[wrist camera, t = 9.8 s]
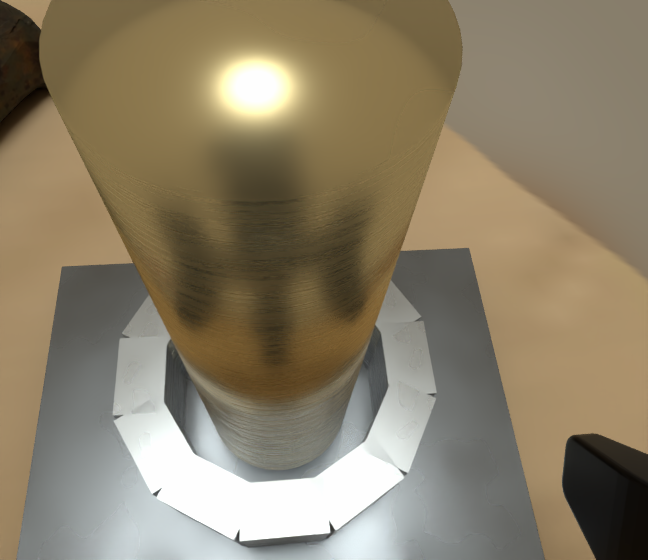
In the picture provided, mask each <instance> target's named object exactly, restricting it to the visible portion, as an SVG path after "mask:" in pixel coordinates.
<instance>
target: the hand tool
mask: <svg viewBox="0 0 648 560" xmlns="http://www.w3.org/2000/svg"><path fill="white" fill-rule="evenodd" d="M40 34H41V30H40V28H39V27H38V26H37V25H36V24H35V22H33V21H32V19H31V18H29V17H28V16H27V15H25V14H24V13H23V12H21V11H20V10H18V9H16V8H14V7H12V6H11V5H9V4H7V3H5V2H2V1H1V0H0V122H1V121H2V120H3V119H4V118H5V117H6V116H7V115H8V114H9V113H10V112H11V111H12V110H13V109H14V108H15V107H16V106H17V104H18V103H19V102H20V101H21V100H23V99H24V98H25V97H26V96H27V95H29V94H30V93H31V92H32V91H34V90H35V89H36V88H40V87H44V88H47V86H46V83H45V81H44V78H43V74H42V69H41V64H40V60H39V39H40Z"/></svg>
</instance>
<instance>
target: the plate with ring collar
mask: <svg viewBox="0 0 648 560" xmlns="http://www.w3.org/2000/svg"><path fill="white" fill-rule="evenodd" d="M16 560H545V558H544V554H543V550H542V546H541V542H540V538H539V534H538V529H537V525H536V521H535V517H534V513H533V509H532V505H531V501H530V497H529V492H528V488H527V484H526V480H525V476H524V472H523V468H522V464H521V460H520V455H519V451H518V447H517V443H516V439H515V435H514V431H513V427H512V423H511V418H510V414H509V410H508V406H507V402H506V398H505V394H504V390H503V386H502V382H501V377H500V373H499V369H498V365H497V361H496V357H495V353H494V349H493V345H492V340H491V336H490V332H489V328H488V324H487V320H486V316H485V312H484V308H483V303H482V299H481V295H480V291H479V287H478V283H477V279H476V275H475V271H474V266H473V262H472V258H471V254H470V250H469V248H458V249H437V250H415V251H400V254H399V257H398V260H397V263H396V265H395V268H394V271H393V274H392V277H391V280H390V283H389V286H388V289H387V292H386V295H385V298H384V301H383V304H382V307H381V310H380V313H379V316H378V318H377V321H376V324H375V327H374V330H373V333H372V336H371V339H370V342H369V345H368V348H367V351H366V354H365V357H364V360H363V363H362V366H361V369H360V371H359V374H358V377H357V380H356V383H355V386H354V389H353V392H352V395H351V398H350V401H349V404H348V407H347V410H346V413H345V416H344V419H343V422H342V424H341V427H340V429H339V432H338V434H337V435H336V437H335V439H334V440H333V442H332V443H331V444H330V446H329V447H328V448H327V449H326V450H325V451H324V452H323V453H322V454H321V455H319V456H318V457H317V458H315V459H314V460H312V461H310V462H309V463H307V464H304V465H302V466H299V467H296V468H292V469H288V470H267V469H261V468H258V467H255V466H252V465H250V464H248V463H246V462H244V461H242V460H241V459H239V458H238V457H236V456H235V455H234V454H233V453H232V452H231V451H230V450H229V449H228V448H227V447H226V445H225V444H224V443H223V441H222V439H221V438H220V436H219V434H218V432H217V430H216V428H215V426H214V424H213V422H212V420H211V418H210V416H209V414H208V412H207V410H206V408H205V406H204V404H203V402H202V400H201V398H200V396H199V394H198V392H197V390H196V388H195V386H194V384H193V382H192V380H191V378H190V376H189V374H188V372H187V370H186V368H185V366H184V364H183V362H182V360H181V358H180V356H179V354H178V352H177V350H176V348H175V345H174V343H173V341H172V339H171V337H170V335H169V333H168V331H167V329H166V327H165V325H164V323H163V321H162V319H161V317H160V315H159V313H158V311H157V309H156V307H155V305H154V303H153V301H152V299H151V297H150V295H149V293H148V291H147V289H146V287H145V285H144V283H143V281H142V279H141V277H140V275H139V273H138V271H137V269H136V267H135V265H134V263H131V264H109V265H87V266H66V267H62V270H61V277H60V283H59V289H58V296H57V302H56V309H55V315H54V322H53V328H52V334H51V341H50V347H49V354H48V360H47V366H46V373H45V379H44V386H43V392H42V399H41V405H40V411H39V418H38V424H37V431H36V437H35V443H34V450H33V456H32V463H31V469H30V476H29V482H28V488H27V495H26V501H25V508H24V514H23V521H22V527H21V533H20V540H19V546H18V553H17V559H16Z"/></svg>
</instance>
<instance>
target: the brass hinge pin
mask: <svg viewBox="0 0 648 560" xmlns="http://www.w3.org/2000/svg"><path fill="white" fill-rule="evenodd" d="M39 60H40V64H41V69H42V74H43V78H44V81H45V83H46V86H47V88H48V90H49V93H50V95H51V97H52V99H53V101H54V103H55V106H56V108H57V110H58V112H59V114H60V116H61V118H62V120H63V122H64V124H65V126H66V128H67V130H68V132H69V134H70V136H71V138H72V140H73V142H74V144H75V146H76V148H77V150H78V152H79V154H80V156H81V158H82V160H83V162H84V164H85V166H86V168H87V170H88V172H89V174H90V176H91V178H92V180H93V182H94V184H95V186H96V188H97V190H98V192H99V194H100V196H101V198H102V200H103V202H104V204H105V206H106V208H107V210H108V212H109V214H110V216H111V218H112V220H113V222H114V224H115V227H116V229H117V231H118V233H119V235H120V237H121V239H122V241H123V243H124V245H125V247H126V249H127V251H128V253H129V255H130V257H131V259H132V261H133V263H134V265H135V267H136V269H137V271H138V273H139V275H140V277H141V279H142V281H143V283H144V285H145V287H146V289H147V291H148V293H149V295H150V297H151V299H152V301H153V303H154V305H155V307H156V309H157V311H158V313H159V315H160V317H161V319H162V321H163V323H164V325H165V327H166V329H167V331H168V333H169V335H170V337H171V339H172V341H173V343H174V345H175V348H176V350H177V352H178V354H179V356H180V358H181V360H182V362H183V364H184V366H185V368H186V370H187V372H188V374H189V376H190V378H191V380H192V382H193V384H194V386H195V388H196V390H197V392H198V394H199V396H200V398H201V400H202V402H203V404H204V406H205V408H206V410H207V412H208V414H209V416H210V418H211V420H212V422H213V424H214V426H215V428H216V430H217V432H218V434H219V436H220V438H221V439H222V441H223V443H224V444H225V445H226V447H227V448H228V449H229V450H230V451H231V452H232V453H233V454H234V455H235V456H236V457H238V458H239V459H241V460H242V461H244V462H246V463H248V464H250V465H252V466H255V467H258V468H261V469H267V470H288V469H292V468H296V467H299V466H302V465H304V464H307V463H309V462H310V461H312V460H314V459H315V458H317V457H318V456H319V455H321V454H322V453H323V452H324V451H325V450H326V449H327V448H328V447H329V446H330V444H331V443H332V442H333V440H334V439H335V437H336V435H337V434H338V432H339V429H340V427H341V424H342V422H343V419H344V416H345V413H346V410H347V407H348V404H349V401H350V398H351V395H352V392H353V389H354V386H355V383H356V380H357V377H358V374H359V371H360V369H361V366H362V363H363V360H364V357H365V354H366V351H367V348H368V345H369V342H370V339H371V336H372V333H373V330H374V327H375V324H376V321H377V318H378V316H379V313H380V310H381V307H382V304H383V301H384V298H385V295H386V292H387V289H388V286H389V283H390V280H391V277H392V274H393V271H394V268H395V265H396V263H397V260H398V257H399V254H400V251H401V248H402V245H403V242H404V239H405V236H406V233H407V230H408V227H409V224H410V221H411V218H412V215H413V212H414V210H415V207H416V204H417V201H418V198H419V195H420V192H421V189H422V186H423V183H424V180H425V177H426V174H427V171H428V168H429V165H430V162H431V159H432V157H433V154H434V151H435V148H436V145H437V142H438V139H439V136H440V133H441V130H442V127H443V124H444V121H445V118H446V115H447V112H448V109H449V106H450V104H451V101H452V98H453V95H454V92H455V89H456V86H457V82H458V78H459V74H460V70H461V66H462V41H461V33H460V28H459V25H458V22H457V19H456V16H455V13H454V11H453V9H452V7H451V5H450V3H449V2H448V0H52V1H51V3H50V5H49V7H48V10H47V12H46V15H45V17H44V20H43V24H42V29H41V34H40V39H39Z"/></svg>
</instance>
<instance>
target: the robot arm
mask: <svg viewBox="0 0 648 560" xmlns="http://www.w3.org/2000/svg"><path fill="white" fill-rule="evenodd" d="M562 488H563V492H564V496H565V498H566V500H567V502H568V504H569V506H570V508H571V510H572V512H573V514H574V516H575V518H576V520H577V522H578V524H579V526H580V528H581V530H582V532H583V534H584V536H585V538H586V540H587V542H588V544H589V546H590V548H591V550H592V552H593V554H594V556H595V558H596V560H648V454H646V453H643V452H641V451H638V450H636V449H633V448H631V447H628V446H626V445H623V444H621V443H619V442H616V441H614V440H611V439H609V438H606V437H604V436H601V435H599V434H581V435H572V436H571V437H570V438H569V439H568V440H567V443H566V449H565V458H564V467H563V476H562Z"/></svg>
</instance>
